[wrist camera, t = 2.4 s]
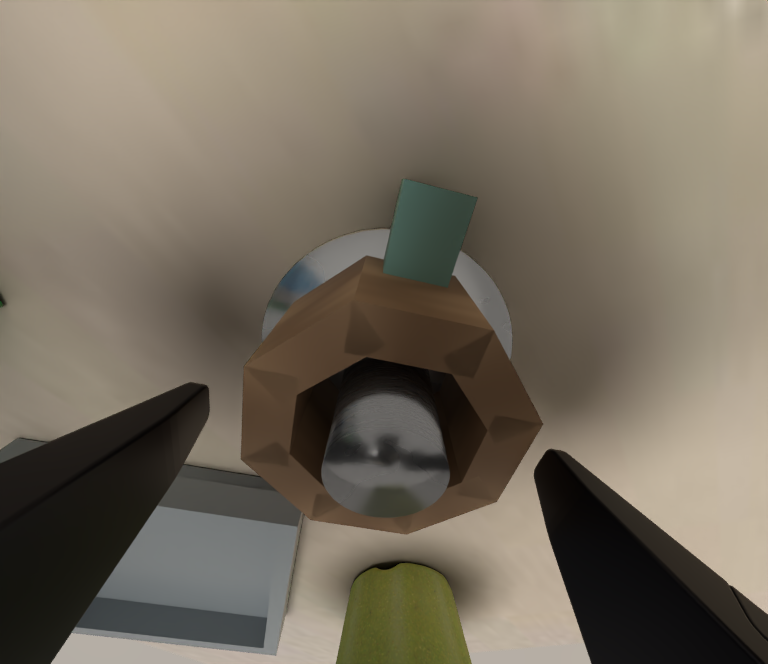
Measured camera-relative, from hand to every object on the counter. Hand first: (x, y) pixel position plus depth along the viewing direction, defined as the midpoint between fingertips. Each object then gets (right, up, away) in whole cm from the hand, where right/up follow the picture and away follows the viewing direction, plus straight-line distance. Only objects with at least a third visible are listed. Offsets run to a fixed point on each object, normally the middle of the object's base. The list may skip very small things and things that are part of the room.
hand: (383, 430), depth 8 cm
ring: (0, +3, +3) cm, 4 cm away
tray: (-11, -9, +9) cm, 17 cm away
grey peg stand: (0, +2, +4) cm, 4 cm away
